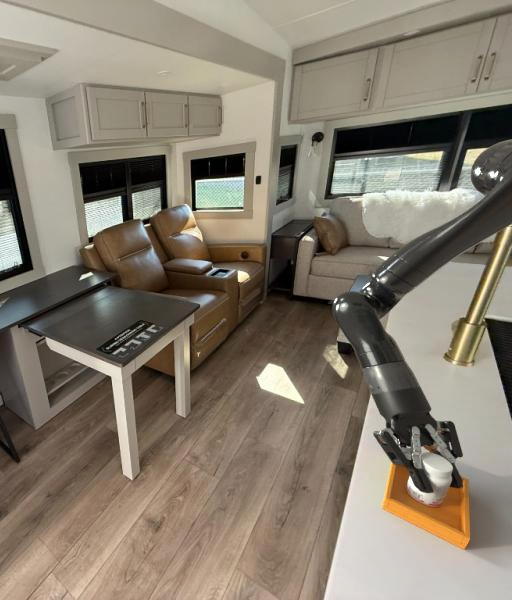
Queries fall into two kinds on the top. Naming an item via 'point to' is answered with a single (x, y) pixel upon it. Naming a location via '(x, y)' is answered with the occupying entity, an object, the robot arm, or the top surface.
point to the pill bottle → (433, 479)
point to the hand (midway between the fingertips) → (441, 489)
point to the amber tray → (430, 508)
